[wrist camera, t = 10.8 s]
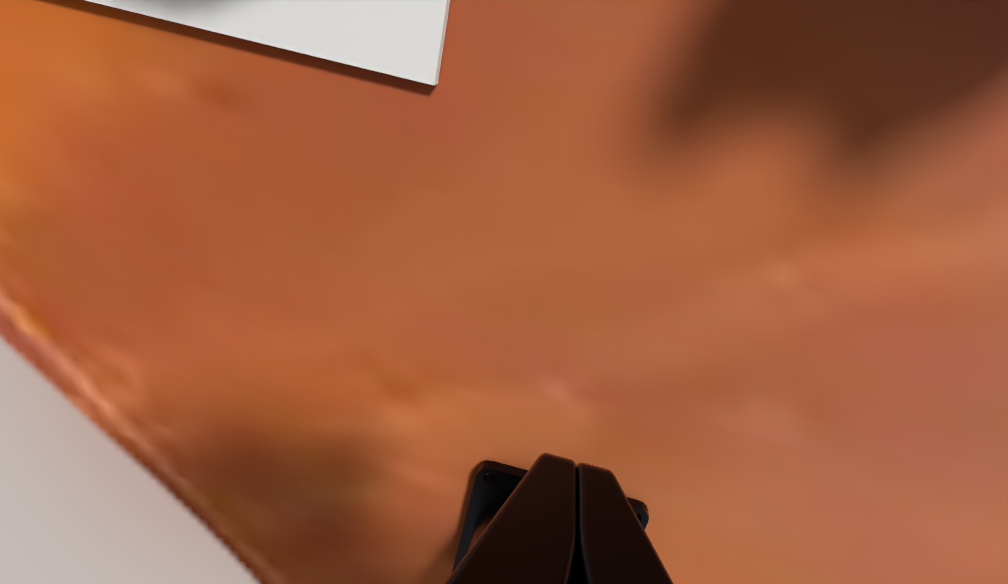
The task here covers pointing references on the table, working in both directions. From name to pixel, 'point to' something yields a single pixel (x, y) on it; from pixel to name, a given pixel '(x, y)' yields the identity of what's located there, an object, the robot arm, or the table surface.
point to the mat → (323, 28)
